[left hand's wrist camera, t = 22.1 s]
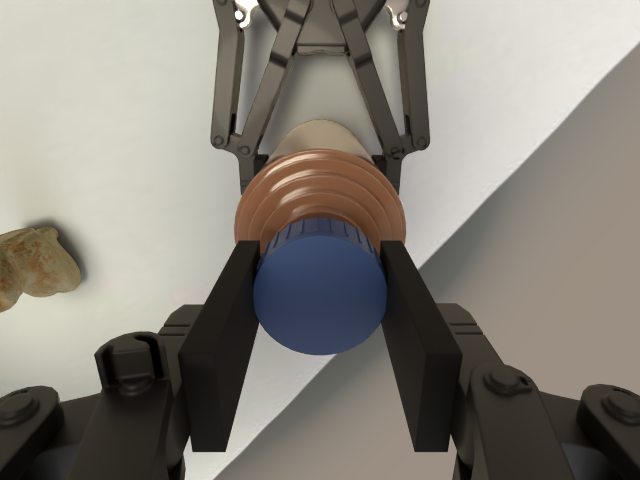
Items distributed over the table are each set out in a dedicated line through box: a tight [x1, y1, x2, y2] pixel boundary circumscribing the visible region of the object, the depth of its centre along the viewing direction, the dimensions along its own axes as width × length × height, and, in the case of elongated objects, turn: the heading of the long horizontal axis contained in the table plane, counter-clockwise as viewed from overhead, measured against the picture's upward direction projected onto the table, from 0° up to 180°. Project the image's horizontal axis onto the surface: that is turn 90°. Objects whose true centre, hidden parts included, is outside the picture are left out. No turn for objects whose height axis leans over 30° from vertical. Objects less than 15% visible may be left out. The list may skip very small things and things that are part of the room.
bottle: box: [234, 120, 406, 257], centre depth 25 cm, size 8×8×24 cm
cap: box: [253, 217, 387, 355], centre depth 14 cm, size 4×4×2 cm
